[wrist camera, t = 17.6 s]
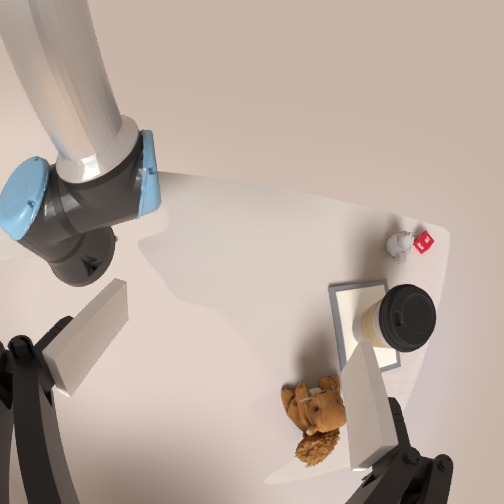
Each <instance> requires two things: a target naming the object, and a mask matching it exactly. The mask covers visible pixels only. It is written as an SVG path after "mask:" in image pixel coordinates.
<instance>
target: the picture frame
mask: <svg viewBox="0 0 504 504" xmlns="http://www.w3.org/2000/svg"><path fill="white" fill-rule="evenodd" d="M328 291H329V297H330V302H331V308H332V314H333V321H334V327H335V334H336V340H337V347H338V355H339V362H340V370H341V372H342V370H343V368H344V367H345V365H346V363H347V362H348V360H349V358H350V357H351V355H352V353H353V351H354V350H355V348H356V346H357V344H358V342H357V341H356V340H355V338H354V336H353V332H352V326H353V322H354V320H355V319H356V317H358V316H359V315H360V314H362V313H363V312H365V310H366V309H368V308H369V307H370V306H372V305H373V304H375V303H376V302H378V301H379V300H380V299H382V298H383V297H384V296H385V295H386V293H387V292H388V286H387V281H386V279H385V280H378V281H372V282H365V283H358V284H351V285H344V286H336V287H329V288H328ZM373 349H374V352H375V355H376V358H377V362H378V365H379V368H380V372H385V371H388V370H391V369H394V368H398V367H401V363H400V355H399V351H397V350H395V349H391V348H378V347H373Z"/></svg>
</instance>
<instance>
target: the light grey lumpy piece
mask: <svg viewBox="0 0 504 504" xmlns="http://www.w3.org/2000/svg"><path fill="white" fill-rule="evenodd" d="M412 234H413V232H412V233H410V232H407V231H402V232H401V233H398V232H396V233H394V234H393V235H392V236H391V237H390V238H389V239H388V241H387V243H386V251H387V252H388V253H390V255H392V256H393V257H394V260H395V262H396V263H397V264H400V263H401V262H405V261H406V255H408V254H409V253H410V252H411V246H412V245H413V243H414V236H413V235H412Z"/></svg>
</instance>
